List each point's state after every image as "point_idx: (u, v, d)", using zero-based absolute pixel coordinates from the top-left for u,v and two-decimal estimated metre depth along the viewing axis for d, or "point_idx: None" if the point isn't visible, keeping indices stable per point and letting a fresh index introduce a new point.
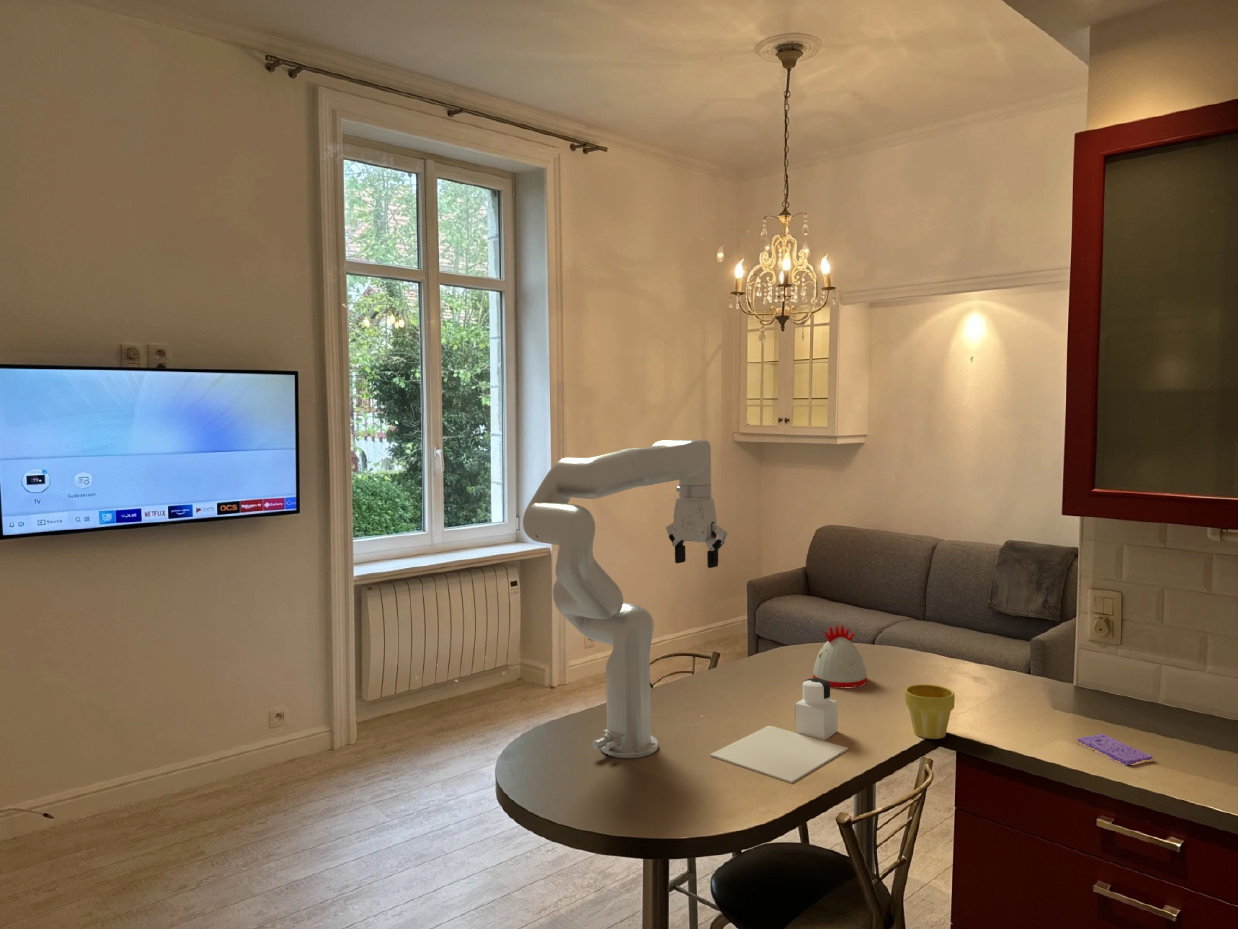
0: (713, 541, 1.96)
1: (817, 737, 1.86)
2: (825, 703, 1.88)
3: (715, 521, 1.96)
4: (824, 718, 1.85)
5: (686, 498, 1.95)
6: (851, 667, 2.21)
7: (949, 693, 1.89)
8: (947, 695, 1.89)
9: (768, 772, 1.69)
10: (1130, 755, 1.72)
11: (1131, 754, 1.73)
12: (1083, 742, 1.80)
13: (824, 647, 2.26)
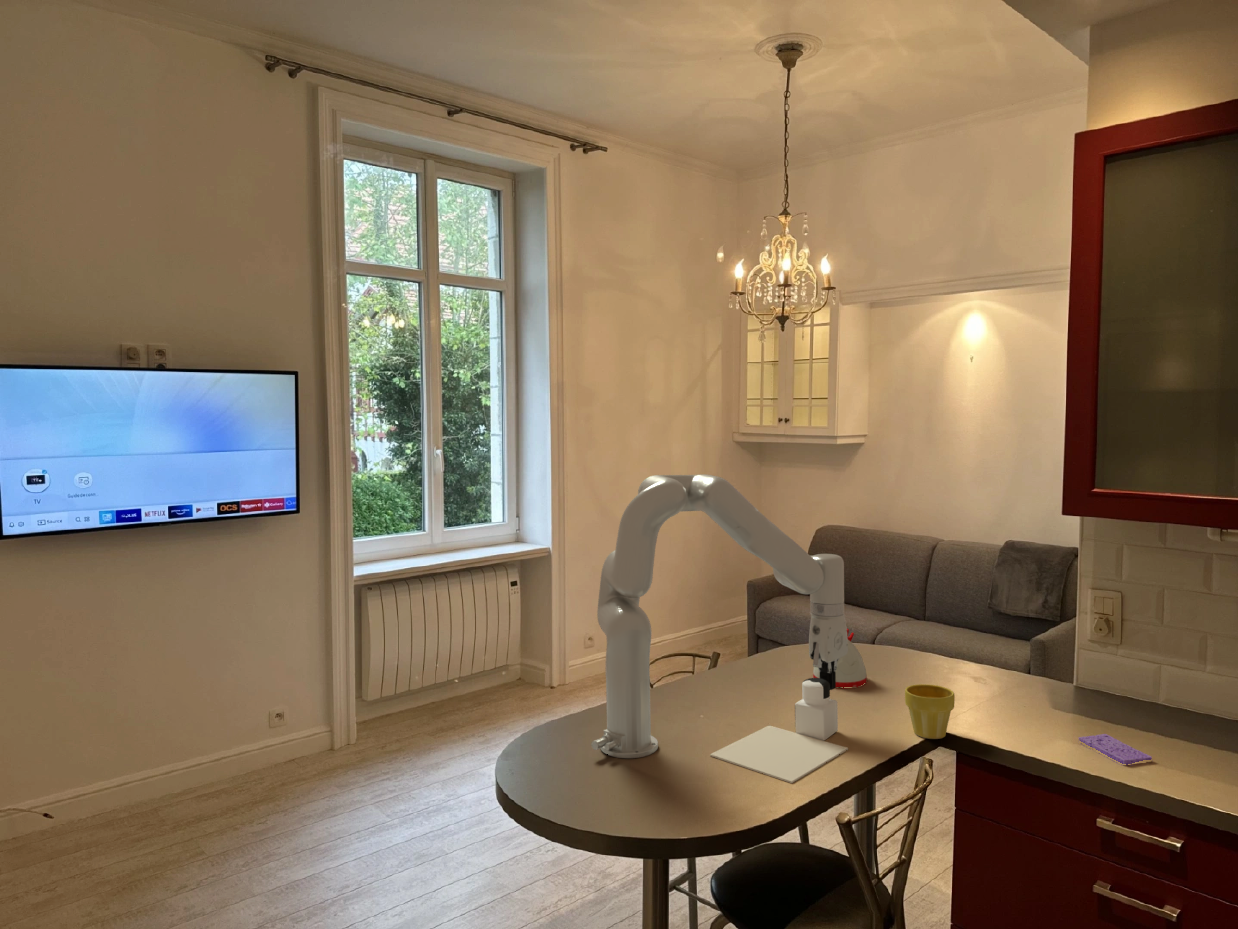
0: None
1: (817, 737, 1.86)
2: (825, 703, 1.88)
3: None
4: (824, 718, 1.85)
5: (842, 615, 1.90)
6: (851, 667, 2.21)
7: (949, 693, 1.89)
8: (947, 695, 1.89)
9: (768, 772, 1.69)
10: (1128, 755, 1.72)
11: (1130, 754, 1.73)
12: (1084, 741, 1.80)
13: None
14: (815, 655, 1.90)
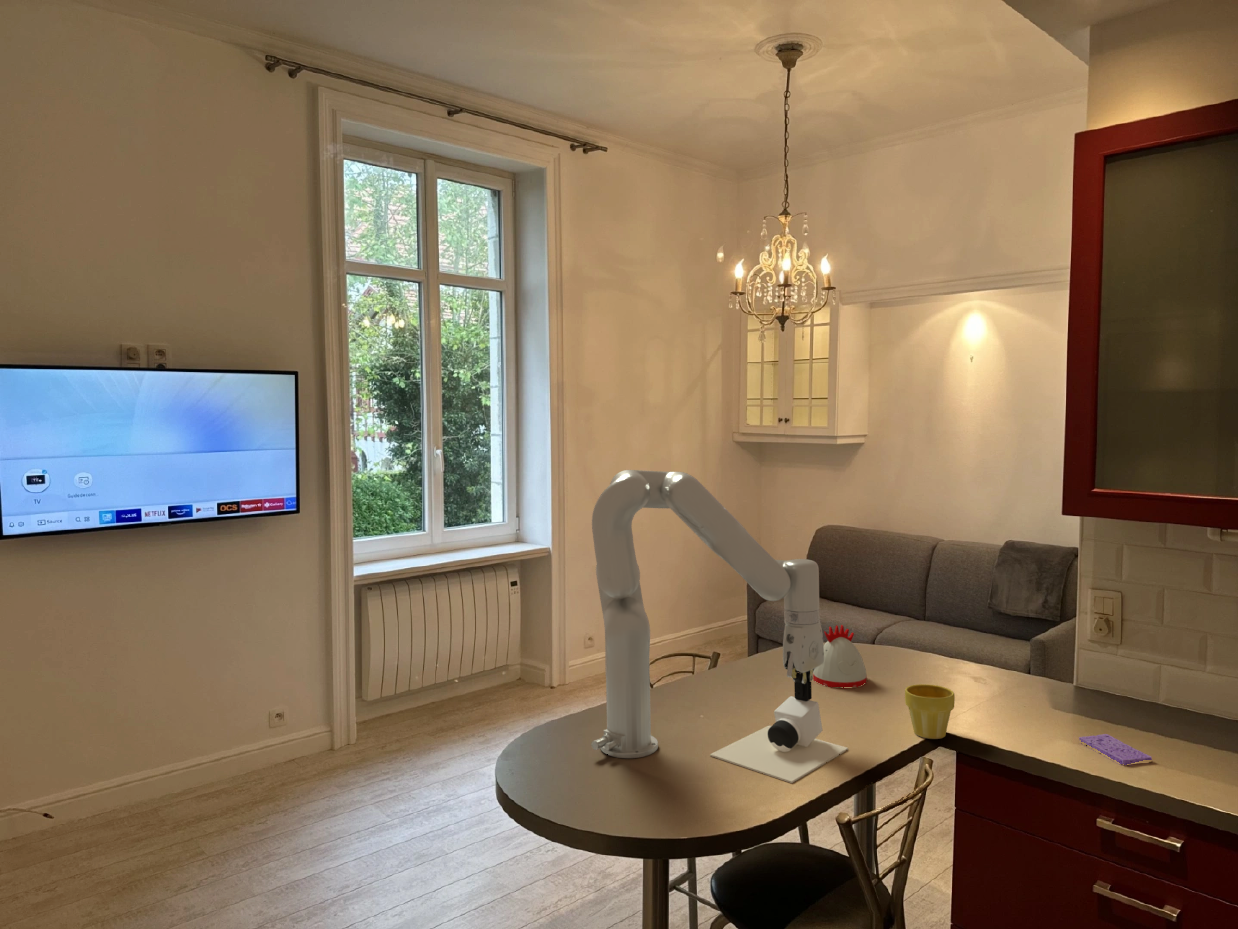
0: None
1: None
2: (799, 736, 1.79)
3: None
4: None
5: (817, 623, 1.82)
6: (851, 667, 2.21)
7: (949, 693, 1.89)
8: (947, 695, 1.89)
9: (768, 772, 1.69)
10: (1128, 755, 1.72)
11: (1129, 754, 1.73)
12: (1084, 741, 1.81)
13: (824, 647, 2.26)
14: (789, 665, 1.82)
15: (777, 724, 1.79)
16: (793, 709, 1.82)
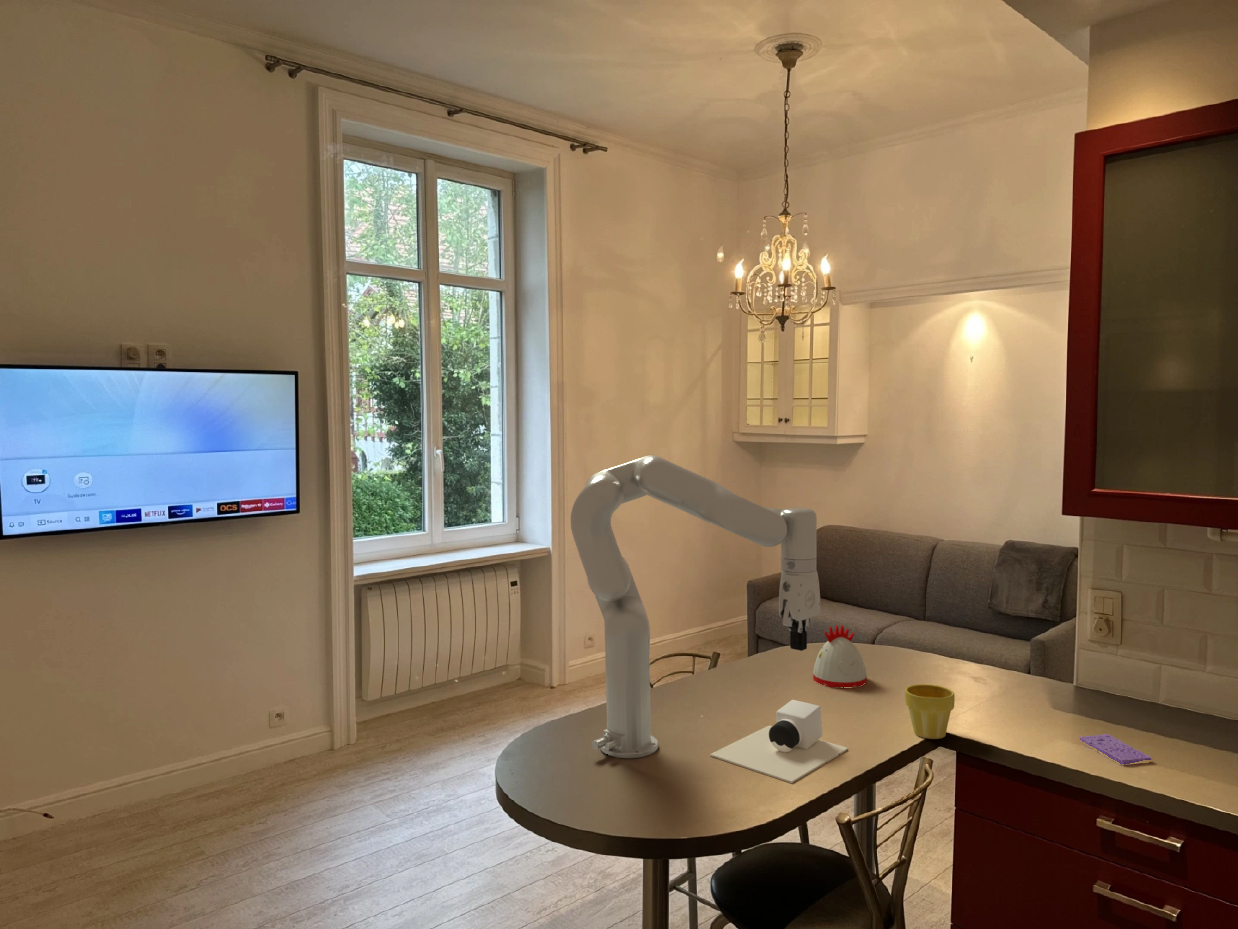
0: None
1: None
2: (800, 737, 1.80)
3: None
4: None
5: (814, 572, 1.81)
6: (851, 667, 2.21)
7: (949, 693, 1.89)
8: (947, 695, 1.89)
9: (768, 772, 1.69)
10: (1127, 755, 1.72)
11: (1129, 754, 1.73)
12: (1084, 741, 1.81)
13: (824, 647, 2.26)
14: (785, 613, 1.80)
15: (779, 723, 1.79)
16: (795, 710, 1.83)
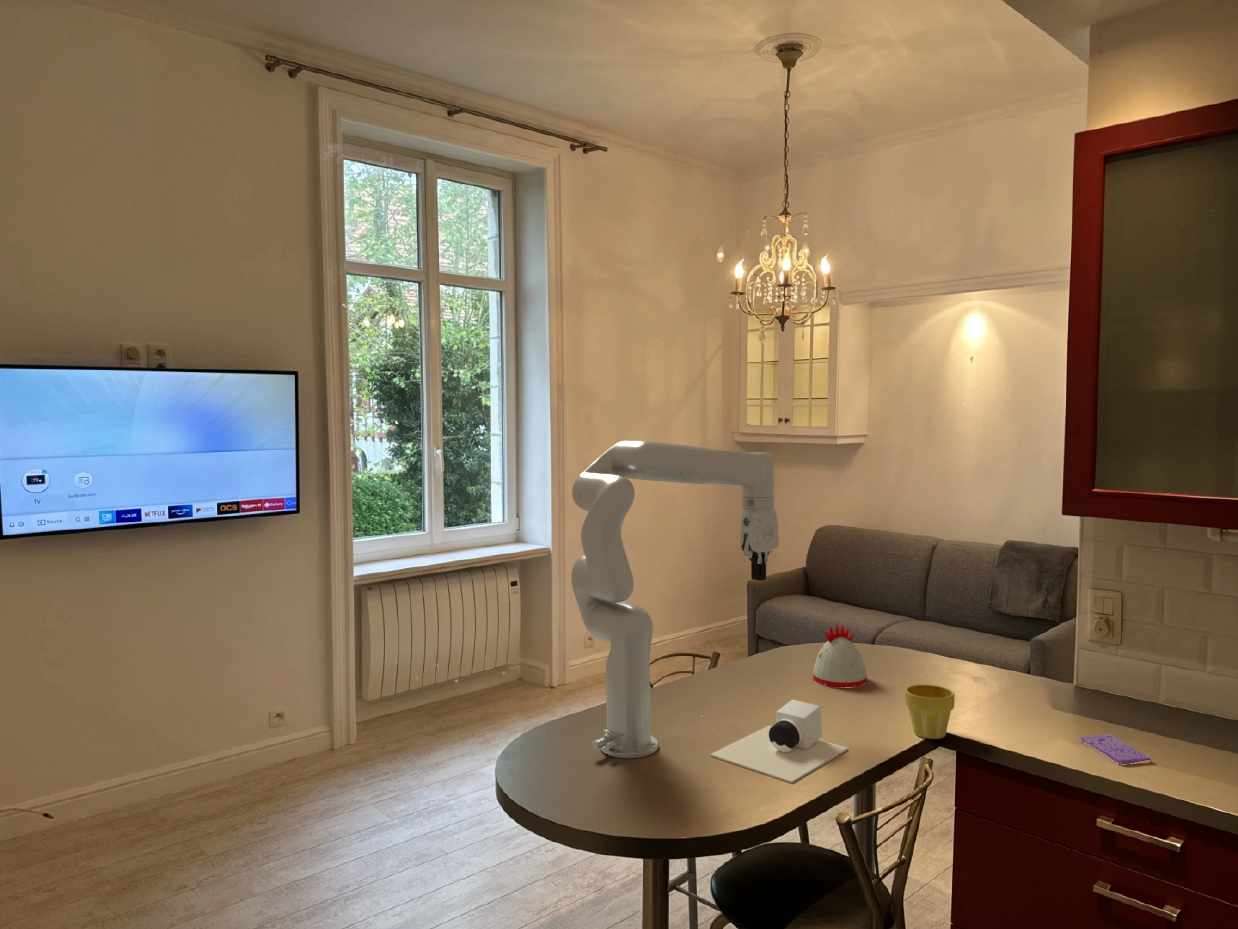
0: None
1: None
2: (800, 737, 1.80)
3: None
4: None
5: (771, 509, 2.01)
6: (851, 667, 2.21)
7: (949, 693, 1.89)
8: (947, 695, 1.89)
9: (768, 772, 1.69)
10: (1127, 755, 1.72)
11: (1129, 754, 1.73)
12: (1085, 741, 1.81)
13: (824, 647, 2.26)
14: (745, 546, 2.00)
15: (779, 723, 1.79)
16: (795, 710, 1.83)
